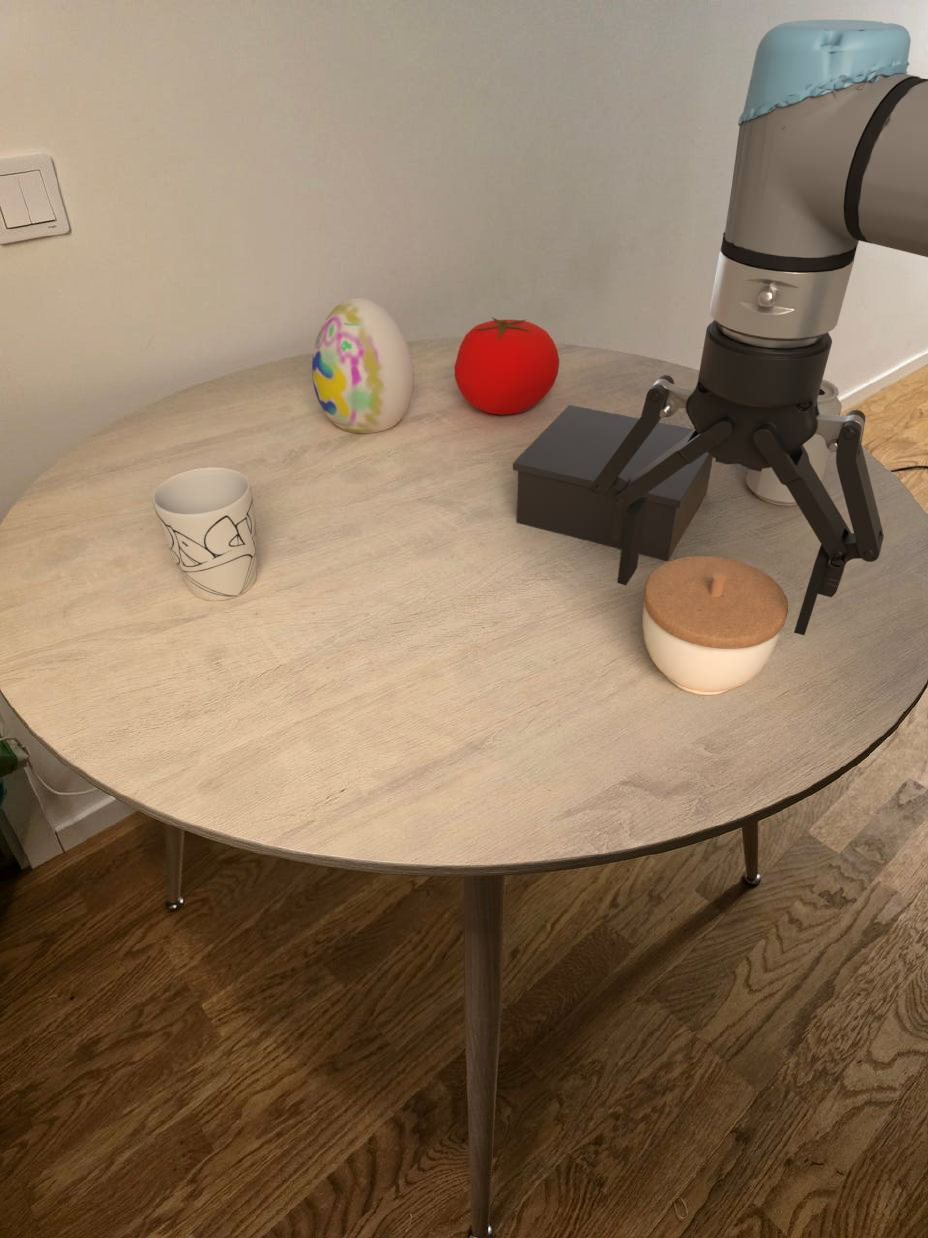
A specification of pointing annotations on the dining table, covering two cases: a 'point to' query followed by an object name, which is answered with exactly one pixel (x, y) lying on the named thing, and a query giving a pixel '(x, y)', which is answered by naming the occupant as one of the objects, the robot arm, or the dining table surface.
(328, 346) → the decorative egg
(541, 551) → the dining table surface
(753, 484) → the can
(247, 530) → the mug
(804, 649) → the dining table surface
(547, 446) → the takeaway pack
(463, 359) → the tomato
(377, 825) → the dining table surface
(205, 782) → the dining table surface
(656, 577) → the lidded bowl
